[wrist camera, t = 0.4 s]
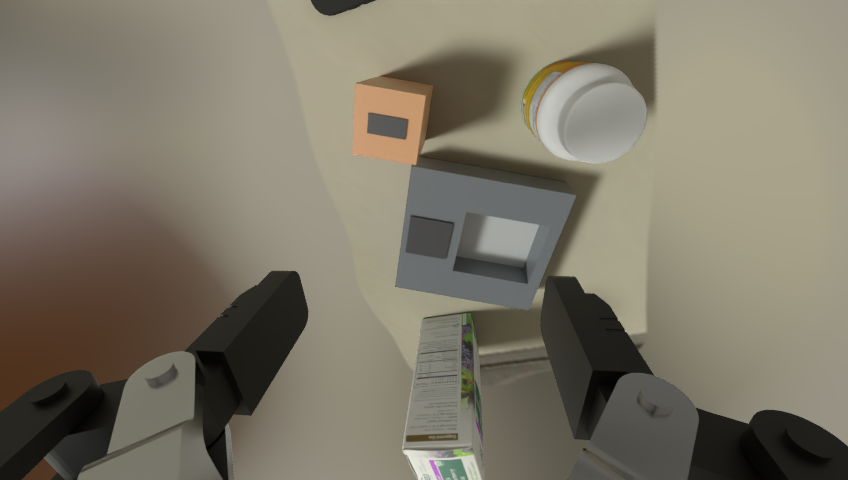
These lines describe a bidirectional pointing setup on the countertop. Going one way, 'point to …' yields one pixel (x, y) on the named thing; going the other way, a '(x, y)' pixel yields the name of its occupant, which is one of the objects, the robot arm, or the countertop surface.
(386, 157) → the block
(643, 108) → the supplement bottle
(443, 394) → the syrup box
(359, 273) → the countertop surface
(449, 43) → the countertop surface
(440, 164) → the plate
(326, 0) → the phone
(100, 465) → the robot arm
